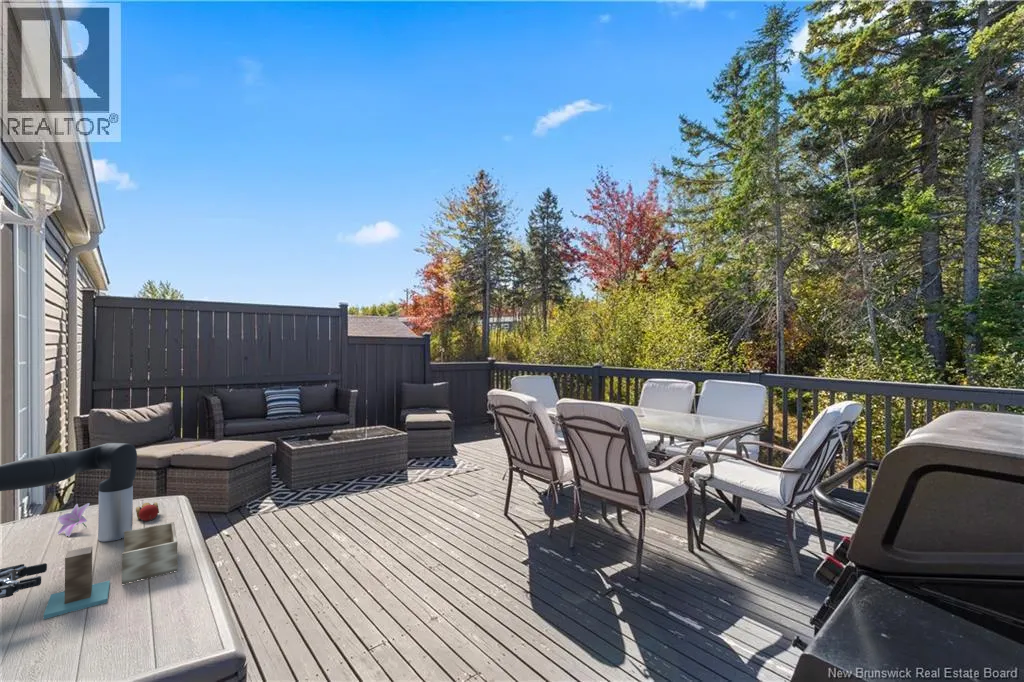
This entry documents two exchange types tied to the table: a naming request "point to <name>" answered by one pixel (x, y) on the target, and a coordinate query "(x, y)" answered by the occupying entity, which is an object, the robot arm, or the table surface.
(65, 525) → the lily
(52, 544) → the table surface
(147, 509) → the kendama
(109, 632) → the table surface
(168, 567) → the crate
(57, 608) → the mat
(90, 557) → the walnut block
